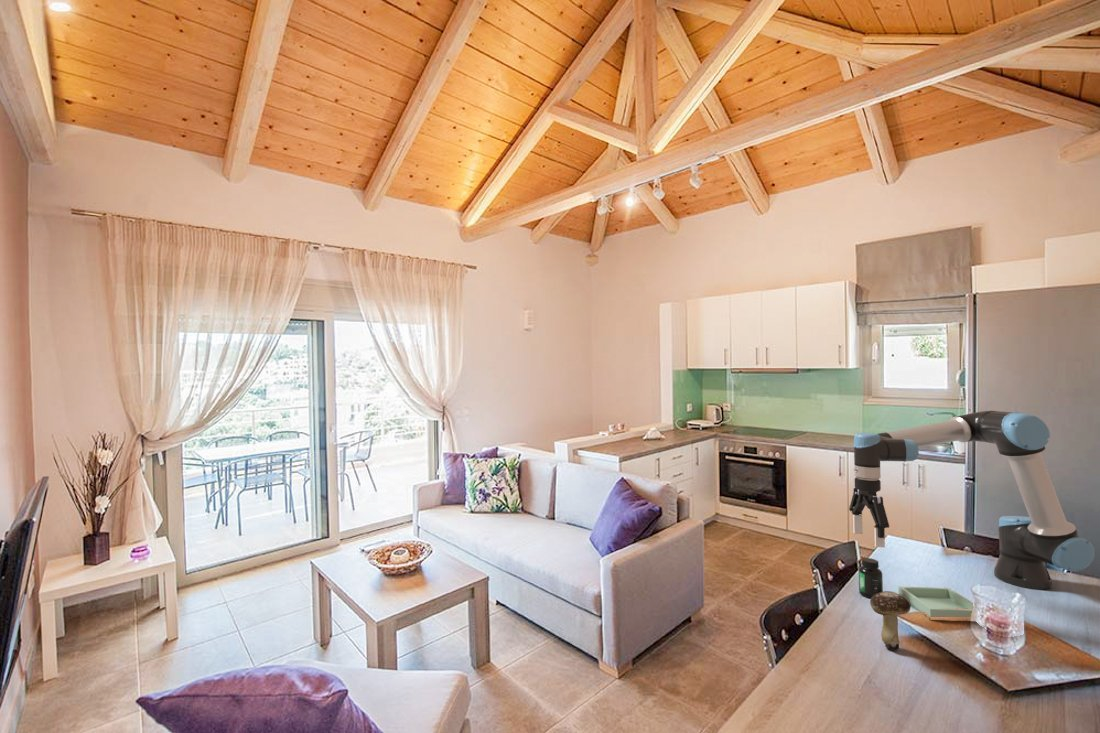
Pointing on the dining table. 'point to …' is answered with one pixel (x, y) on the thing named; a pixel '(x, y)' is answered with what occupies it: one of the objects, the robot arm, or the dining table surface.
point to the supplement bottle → (870, 578)
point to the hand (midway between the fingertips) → (868, 540)
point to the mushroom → (890, 615)
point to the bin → (937, 601)
